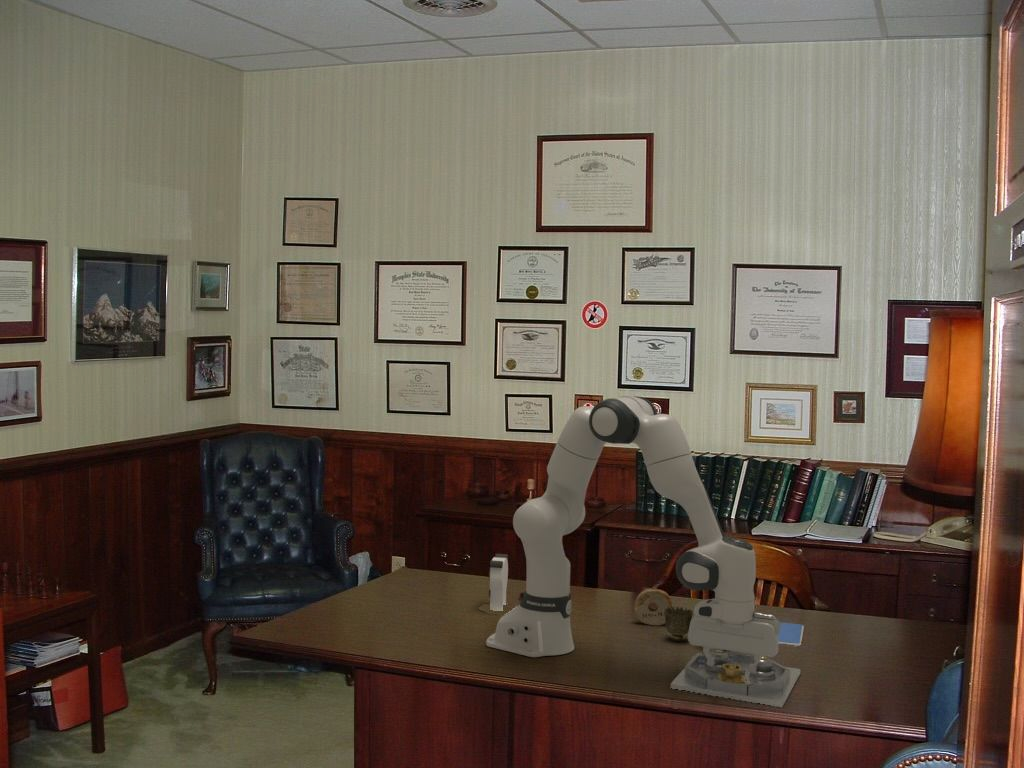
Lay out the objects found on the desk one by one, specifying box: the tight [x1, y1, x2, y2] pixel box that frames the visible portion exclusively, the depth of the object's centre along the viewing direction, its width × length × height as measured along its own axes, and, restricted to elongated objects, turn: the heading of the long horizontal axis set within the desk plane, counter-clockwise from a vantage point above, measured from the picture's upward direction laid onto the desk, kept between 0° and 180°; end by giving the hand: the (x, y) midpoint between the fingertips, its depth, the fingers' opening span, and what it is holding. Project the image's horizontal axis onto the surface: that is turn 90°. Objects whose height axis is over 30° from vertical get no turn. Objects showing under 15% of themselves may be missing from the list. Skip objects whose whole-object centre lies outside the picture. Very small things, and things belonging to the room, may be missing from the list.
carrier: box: [670, 649, 801, 709], centre depth 244 cm, size 25×25×6 cm
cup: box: [664, 606, 694, 642], centre depth 276 cm, size 7×7×8 cm
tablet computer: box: [778, 622, 805, 647], centre depth 284 cm, size 19×13×1 cm, turn 162°
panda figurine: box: [488, 553, 509, 611], centre depth 301 cm, size 12×11×15 cm
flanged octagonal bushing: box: [716, 663, 747, 684], centre depth 239 cm, size 6×6×4 cm
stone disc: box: [633, 588, 673, 626], centre depth 290 cm, size 10×4×10 cm, turn 80°
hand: (731, 669), depth 239 cm, fingers open, 8 cm apart
